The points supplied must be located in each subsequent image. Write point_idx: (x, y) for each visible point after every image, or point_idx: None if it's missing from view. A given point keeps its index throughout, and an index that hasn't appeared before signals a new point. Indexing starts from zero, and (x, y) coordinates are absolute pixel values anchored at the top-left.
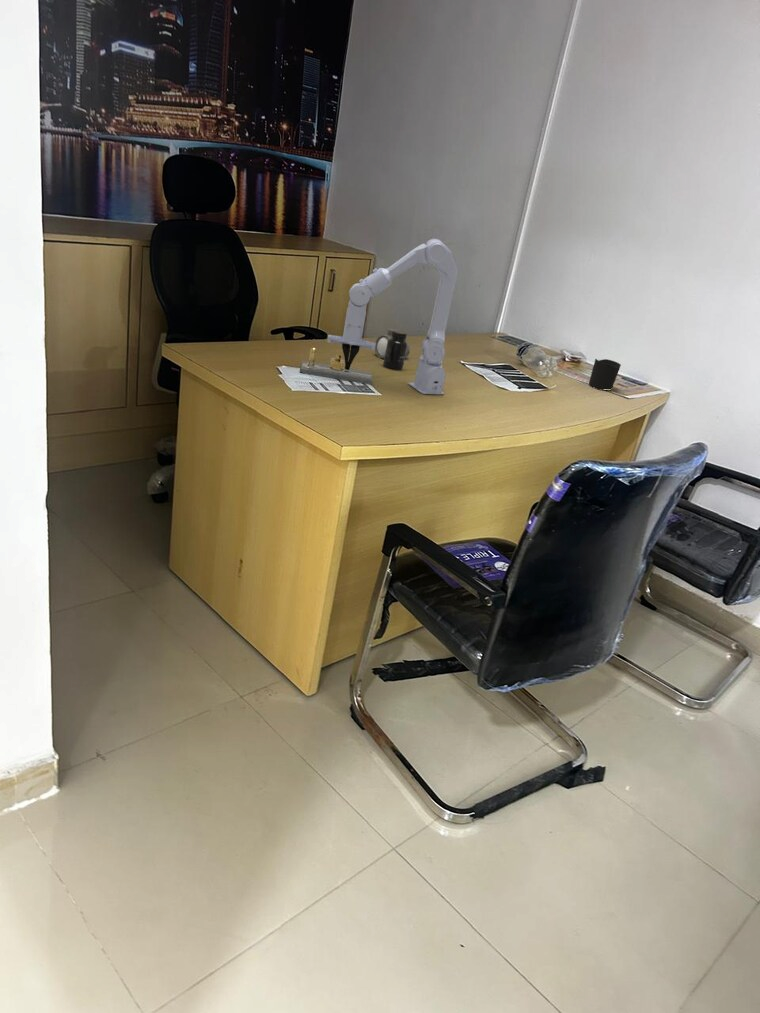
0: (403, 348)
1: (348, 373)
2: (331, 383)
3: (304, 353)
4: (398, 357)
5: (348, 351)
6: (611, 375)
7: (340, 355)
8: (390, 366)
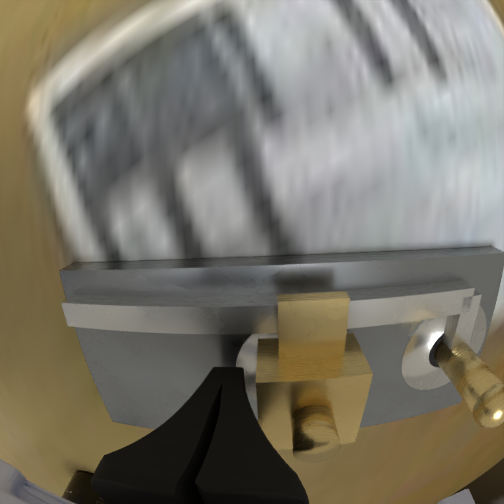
0: None
1: (209, 302)
2: (324, 117)
3: (397, 488)
4: (68, 499)
5: (217, 469)
6: None
7: (298, 451)
8: None
